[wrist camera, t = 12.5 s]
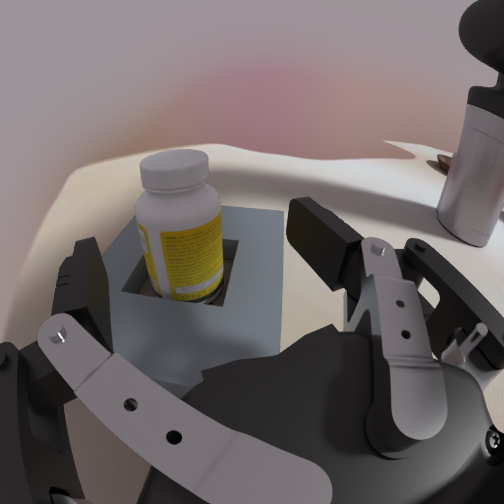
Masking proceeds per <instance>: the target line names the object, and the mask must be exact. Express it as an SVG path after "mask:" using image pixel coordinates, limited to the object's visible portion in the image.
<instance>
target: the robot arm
mask: <svg viewBox="0 0 504 504" xmlns="http://www.w3.org/2000/svg"><path fill="white" fill-rule="evenodd" d="M459 36H460V40H461V42H462V44H463V46H464V47H465V49H466V50H467V51H468V52H469V53H471V55H473V56H474V57H475V58H476V59H478V60H479V61H481V62H483V63H485V64H486V65H488V66H489V67H491V68H493V69H495V70H496V71H498V72H499V75H498V80H497V83H496V86H494V87H482V86H473V87H471V88H470V90H469V93H468V100H467V107H466V113H465V118H464V124H463V129H462V134H461V138H460V143H459V147H458V151H457V153H454V154H453V156H452V160H451V164H450V167H449V171H448V174H447V178H446V181H445V184H444V188H443V191H442V194H441V197H440V200H439V203H438V206H437V208H436V210H437V211H438V219H439V220H440V222H441V223H442V225H443V226H444V227H445V228H446V229H448V230H449V231H450V232H451V233H452V234H454V235H455V236H457V237H458V238H460V239H462V240H463V241H465V242H467V243H470V244H472V245H475V246H481V247H482V246H486V245H487V243H488V241H489V239H490V236H491V234H492V232H493V230H494V228H495V225H496V223H497V221H498V218H499V216H500V214H501V211H502V208H503V206H504V0H478V1H476V2H474V3H473V4H472V5H470V7H468V8H467V10H466V11H465V12H464V13H463V15H462V17H461V20H460V23H459ZM286 236H287V239H288V242H289V243H290V245H291V246H292V247H293V248H294V249H295V250H296V251H297V252H298V253H299V254H300V256H301V257H302V258H303V259H304V260H305V261H306V262H307V263H308V264H309V266H310V267H311V268H312V269H313V270H314V271H315V272H316V273H317V274H318V276H319V277H320V278H321V279H322V280H323V281H324V282H325V283H326V285H327V286H328V287H329V288H330V289H331V290H332V291H333V292H334V291H336V290H339V289H342V288H345V293H344V297H343V298H344V328H343V332H338V330H337V329H336V328H335V327H334V325H333V324H330V325H328V326H326V327H323V328H321V329H319V330H316V331H314V332H311V333H309V334H306V335H304V336H303V337H302V338H300V339H299V340H298V341H296V342H295V343H293V344H292V345H291V346H289V347H288V348H287V349H285V350H284V351H282V352H281V353H279V354H277V355H274V356H267V357H258V358H249V359H239V360H235V361H232V362H228V363H225V364H222V365H219V366H215V367H212V368H209V369H205V370H202V371H201V373H202V377H203V381H202V382H200V383H199V384H197V385H196V386H194V387H193V388H192V389H190V390H189V391H188V392H187V393H186V394H185V395H184V396H183V397H182V399H181V400H180V399H179V398H177V397H176V396H174V395H173V394H171V393H170V392H168V391H167V390H165V389H164V388H163V387H161V386H160V385H158V384H157V383H156V382H154V381H153V380H151V379H150V378H149V377H147V376H146V375H145V374H143V373H142V372H141V371H139V370H138V369H137V368H136V367H134V366H133V365H132V364H131V363H129V362H128V361H127V360H126V359H124V358H123V357H122V356H121V355H119V354H118V353H116V352H114V350H113V341H112V330H111V317H110V298H109V280H108V275H107V272H106V268H105V266H104V263H103V260H102V257H101V254H100V251H99V248H98V245H97V242H96V239H95V238H94V237H91V238H87V239H83V240H79V241H76V243H75V247H74V252H73V256H70V257H66V259H65V260H64V262H63V263H62V265H61V266H60V268H59V273H58V279H57V283H56V288H55V294H54V300H53V307H52V314H51V317H49V318H48V319H47V320H46V321H45V322H44V323H43V324H42V325H41V327H40V329H39V331H38V335H37V341H35V342H33V343H32V344H30V345H28V346H26V347H24V348H23V349H21V350H18V349H17V348H16V347H15V345H14V344H12V343H10V342H3V343H1V344H0V504H94V503H92V502H90V501H88V500H85V497H84V494H83V491H82V488H81V485H80V481H79V478H78V474H77V471H76V467H75V463H74V460H73V455H72V451H71V447H70V442H69V437H68V432H67V426H66V420H65V414H64V406H63V404H65V403H67V402H69V401H71V400H73V399H75V398H77V397H78V398H79V399H80V400H81V401H82V402H83V404H84V405H85V406H86V407H87V408H88V409H89V410H90V411H91V412H92V413H93V414H94V415H95V416H96V417H97V418H98V419H99V420H100V421H101V422H102V423H103V424H104V425H105V426H106V427H107V428H108V429H109V430H110V431H111V432H113V433H114V434H115V435H116V436H117V437H118V438H119V439H120V440H121V441H123V442H124V443H125V444H126V445H127V446H128V447H130V448H131V449H132V450H133V451H135V452H136V453H137V454H138V455H139V456H141V457H142V458H143V459H145V460H146V461H147V462H148V463H150V464H151V468H150V470H149V473H148V476H147V478H146V481H145V483H144V486H143V489H142V491H141V494H140V496H139V499H138V502H137V504H504V433H502V432H500V431H499V430H497V428H496V427H495V426H494V424H493V422H492V420H491V417H490V415H489V412H488V409H487V406H486V403H485V399H484V395H483V391H484V389H485V388H486V387H487V386H488V384H489V383H490V382H491V381H492V380H493V379H494V378H495V377H496V376H497V375H498V374H499V373H500V372H501V371H502V370H503V369H504V318H503V317H502V315H501V314H500V313H499V312H498V311H497V310H496V309H495V308H494V306H493V305H492V304H491V303H490V302H489V301H488V300H487V299H486V298H485V297H484V296H483V295H482V294H481V293H480V292H479V291H478V290H477V289H476V288H475V287H474V286H473V285H472V284H471V283H470V282H469V281H468V280H467V279H466V278H465V277H464V276H463V275H462V274H461V273H460V272H459V271H458V270H457V269H456V268H455V267H454V266H453V265H452V264H450V263H449V262H448V261H447V260H446V259H445V258H444V257H443V256H442V255H440V254H439V253H438V252H437V251H436V250H435V249H434V248H432V247H431V246H430V245H429V244H428V243H426V242H424V241H422V240H420V239H416V238H410V239H408V240H407V242H406V244H405V247H404V249H394V248H393V247H392V246H391V245H390V244H389V243H387V242H386V241H384V240H382V239H379V238H374V237H368V238H364V237H362V236H361V235H360V234H359V233H358V232H356V231H355V230H354V229H353V228H352V227H350V226H349V225H348V224H347V223H344V221H343V220H342V219H340V218H338V216H337V215H335V214H334V213H333V212H331V211H330V210H328V209H325V208H323V207H322V206H320V205H319V204H318V203H316V202H315V201H314V200H312V199H311V198H310V197H303V198H295V199H292V200H291V201H290V204H289V211H288V219H287V227H286ZM423 278H425V279H426V280H427V281H428V282H429V283H430V284H431V285H432V286H433V287H434V288H435V289H436V290H437V291H438V293H439V295H440V301H439V303H438V305H437V306H436V308H435V309H434V308H433V306H432V305H431V304H430V303H429V302H428V301H427V300H426V299H425V298H424V297H423V296H422V295H421V294H420V293H419V292H418V288H419V286H420V284H421V282H422V280H423ZM431 351H432V352H433V354H434V355H435V356H436V357H437V359H438V360H436V359H433V357H432V352H431Z"/></svg>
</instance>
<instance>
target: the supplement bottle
mask: <svg viewBox="0 0 504 504" xmlns="http://www.w3.org/2000/svg"><path fill="white" fill-rule="evenodd" d="M140 172H141V181H142V186H143V188H144V189H145V190H147V191H145V192H144V193H143V194H142V195H141V196H140V197H139V199H138V200H137V203H136V206H135V214H136V220H137V225H138V230H139V234H140V239H141V244H142V248H143V252H144V256H145V261H146V265H147V269H148V273H149V276H150V280H151V284H152V287H153V290H154V293H155V295H156V297H157V298H164V299H170V300H177V301H184V302H191V303H198V304H206V305H207V304H209V303H210V302H212V301H213V300H214V299H215V298H216V297H217V296H218V295H219V293H220V291H221V289H222V287H223V279H224V273H223V250H222V219H221V201H220V196H219V194H218V192H217V191H216V190H215V189H214V188H213V187H212V186H211V185H209V184H207V183H206V182H207V180H208V175H209V166H208V155H207V154H206V153H204V152H202V151H198V150H192V149H178V150H169V151H164V152H160V153H156V154H153V155H150V156H148V157H146V158H145V159H143V160H142V161H141V163H140Z"/></svg>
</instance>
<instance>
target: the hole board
mask: <svg viewBox="0 0 504 504" xmlns="http://www.w3.org/2000/svg"><path fill="white" fill-rule="evenodd" d="M221 219H222V250H223V258H224V259H234V263H233V267H232V271H231V275H230V280H229V284H228V288H227V292H226V296H225V300H224V304H223V307H222V306H213V305H206V304H198V303H191V302H184V301H177V300H170V299H164V298H157V297H151V296H145V295H139V294H138V292H139V290H140V288H141V286H142V285H143V283H144V281H145V279H146V277H147V276H148V274H149V273H148V269H147V265H146V261H145V256H144V252H143V248H142V244H141V239H140V234H139V230H138V225H137V220H136V215H135V216H134V218H133V219H132V220H131V221H130V222H129V224H128V225H127V226H126V227H125V228H124V230H123V231H122V232H121V233H120V234H119V236H118V237H117V238H116V239H115V241H114V242H113V243H112V244H111V246H110V247H109V248H108V250H107V251H106V252H105V253H104V255H103V256H102V260H103V263H104V266H105V268H106V272H107V275H108V280H109V298H110V317H111V330H112V341H113V350H114V352H116V353H118V354H119V355H121V356H122V357H123V358H124V359H126V360H127V361H128V362H129V363H131V364H132V365H133V366H134V367H136V368H137V369H138V370H139V371H141V372H142V373H143V374H145V375H146V376H147V377H149V378H150V379H151V380H153V381H154V382H156V383H157V384H158V385H160V386H161V387H163V388H164V389H165V390H167V391H168V392H170V393H171V394H173V395H174V396H176V397H178V398H182V397H183V396H184V395H185V394H186V393H187V392H188V391H189V390H190V389H192V388H193V387H194V386H196V385H197V384H199V383H200V382H202V381H203V377H202V373H201V371H202V370H205V369H209V368H212V367H215V366H219V365H222V364H225V363H228V362H232V361H235V360H239V359H249V358H258V357H267V356H274V355H277V354H279V353H280V339H281V315H282V287H283V244H284V211H277V210H266V209H255V208H243V207H230V206H221Z"/></svg>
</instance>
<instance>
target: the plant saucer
mask: <svg viewBox="0 0 504 504" xmlns="http://www.w3.org/2000/svg"><path fill="white" fill-rule="evenodd" d="M437 158H438V162H439V164H440V167H441V168H442V169H443V170H444V171H445V172H446V173H448V171H449V167H450V164H451V160H452V158H451V157H448V156H445V155H441V154H438V155H437Z"/></svg>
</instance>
